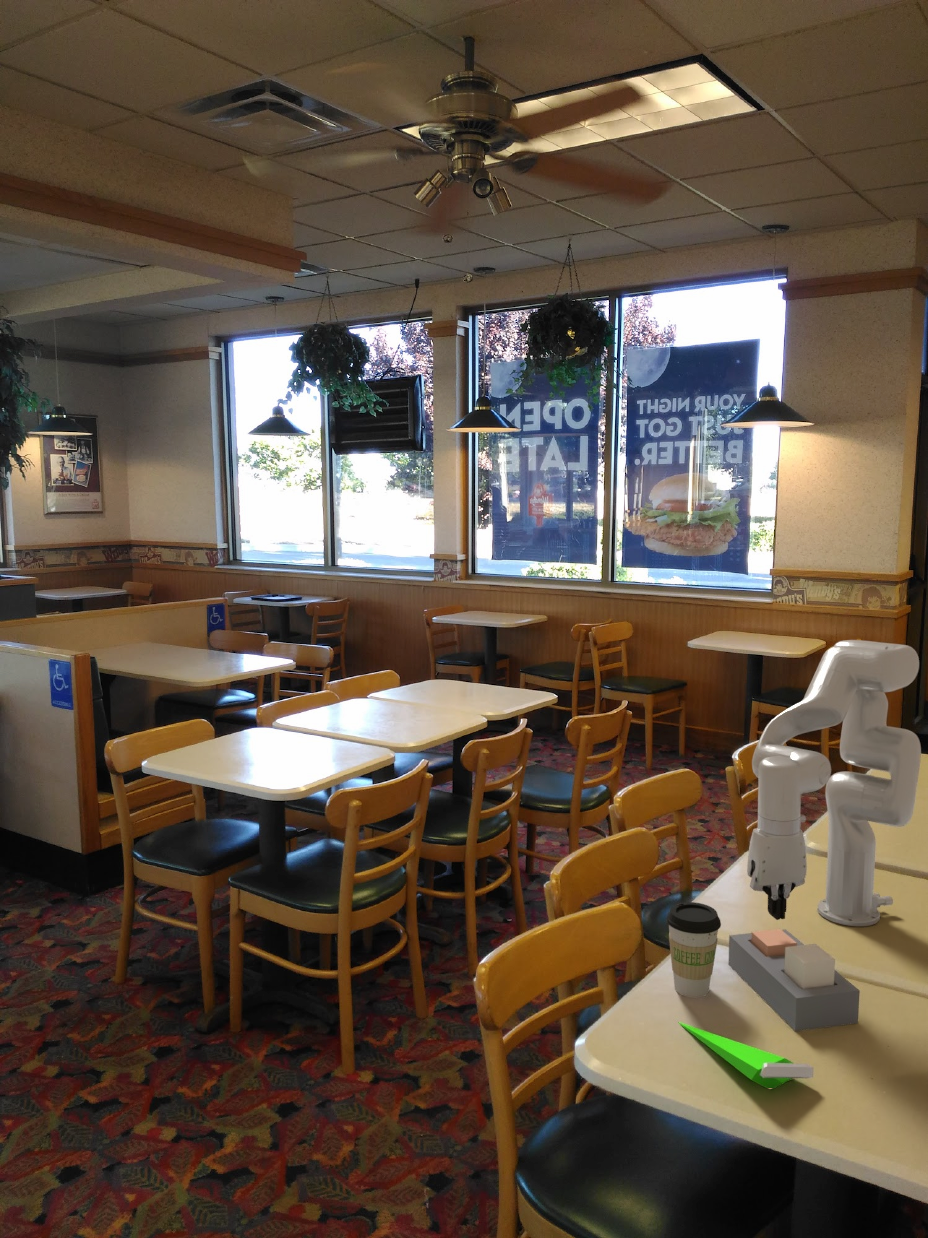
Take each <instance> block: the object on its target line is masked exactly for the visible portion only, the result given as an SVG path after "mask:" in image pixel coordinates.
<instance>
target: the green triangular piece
mask: <svg viewBox="0 0 928 1238" xmlns="http://www.w3.org/2000/svg"><path fill="white" fill-rule="evenodd" d="M678 1024H679V1025H680V1027H681V1026H682V1027H683V1028H684V1029H685V1030H686V1031H688V1032H689V1033H690V1034H692V1035H693V1036H694V1037H696V1038H697V1039H698V1040H699V1041H701V1042H702V1043H703V1044H704V1045H706V1046H707V1047H709V1048H710V1050H712V1051H714V1052H715V1053H716V1054H717V1055H718V1056H720V1058H723V1060H725V1061H726V1062H728V1063H729V1064H730V1065H731V1066H733V1067H734V1068H735V1069H737V1070H738V1071H739V1072H740V1073H742V1074H743V1075H744V1076H745V1077H747V1079H750V1080H751V1081H752V1082H755V1083H756V1084H758V1085H760V1086H762V1087H764V1088H766V1089H767V1088H774V1089H776V1088H777V1086H778V1087H780V1086H782V1085H784V1084H785V1083H786V1081H787V1082H788V1080H789V1081H791V1080H793V1079H811V1078H814V1066H811V1065H810V1064H808V1063H795V1062H793V1061H792V1060H789V1059H787V1058H785V1057H783V1056H781V1055H776V1054H774V1053H771V1052H768V1051H764V1050H762V1049H759V1048H756V1047H753V1046H750V1045H747V1044H744V1043H742V1042H738V1041H736V1040H732V1039H730V1038H727V1037H723V1036H720V1035H718V1034H714V1033H712V1032H710V1031H706V1030H704V1029H700V1028H697V1027H694V1026H691V1025H689V1024H686V1023H683V1022H678ZM779 1085H780V1086H779ZM775 1087H776V1088H775Z"/></svg>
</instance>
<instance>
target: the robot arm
mask: <svg viewBox="0 0 928 1238" xmlns="http://www.w3.org/2000/svg"><path fill="white" fill-rule="evenodd" d="M919 659H920V658H919V656H918V653H917V651H916V650H915V649H914V648H913V647H912V646H910V645H906V644H899V643H892V642H891V643H889V642H888V643H887V642H878V641H872V640H871V641H870V640H860V639H847V640H846V639H845V640H839V641H837V642H836V643H835V644H834V645H833V646H832V647H830V648H828V649H827V650H826V651H825V652H824V653H823V655H822V657H821V658H820V661H819V663H818V666H817V667H816V671H815V672H814V675H813V677H812V679H811V681H810V683H809V685H808V688H807V690H806V692H805V694H804V697H803V699H802V700H801V701H799V702H797V703H795V704H794V705H791V706H789V707H788V708H786V709H785V710H783V711H782V712H780V713H779V714H777V715H776V716H775V717H774V718H772V719H771V720H770V721H769V722H768V723H767V724H766V726H765V728H764V730H763V731H762V733H761V736H760V738H759V740H758V742H757V744H756V747H754V748H755V749H754V752H753V755H752V758H751V768H752V772H753V774H754V775H755V776H756V778H758V779H757V780H758V782H757V784H758V787H757V788H758V789H757V827H756V828H753V830H752V832H751V837H750V842H749V848H748V855H747V865H746V867H747V868H746V869H747V870H746V871H747V873H746V874H747V876H748V877H749V878H751V879H750V884H749V887H750V889H752V890H753V891H756V892H763V893H765V895H767V912H768V914H769V915H770V916H772V917H773V918H774V919H775V920H776V921H778V920H779V921H780V920H785V919H786V913H787V904H788V903H787V899H789V898H790V897H791V893H792V892H793V890H794V889H796V888H797V887H799V886H803V885H804V884H805V883H806V880H805V879H806V876H807V867H808V866H807V864H808V863H807V850H806V841H805V837H804V832H803V830H802V828H801V827H802V825H801V824H802V823H805V822H806V821H807V820H806V819H807V817H806V815H804V814H801V805H802V804H801V803H802V801H801V797H802V794H806V793H812V792H816V791H818V790H820V789H822V788H823V787H825V801H826V808H827V815H828V837H827V839H828V840H827V860H826V880H825V881H826V882H825V884H826V885H825V898H824V899H822V900H820V901H819V902H818V903H817V912H818V913H819V915H820V916H822V917H823V919H826V920H829V921H830V922H833V923H836V924H840V925H843V926H850V927H870V926H872V925H875V924H877V923H878V922H879V921H880V919H881V913H880V911H879V910H878V908H881V906H891V905H893V904H894V899H893V898H892V895H884V896H883V895H882V896H881V895H880V893H878V892H874V888H875V887H874V884H875V863H876V850H877V849H876V848H877V847H876V846H877V845H876V844H877V840H876V836H875V835H876V834H875V831H874V830H873V827H872V826H871V824H870V822H871V823H875V824H881V825H885V826H888V827H895V828H896V827H897V828H903V827H905V826H906V825H908V824H909V823H910V821H911V820H912V817H913V814H914V810H915V804H916V799H917V798H916V797H917V796H916V795H917V788H918V781H919V774H920V769H921V768H920V766H921V758H922V747H921V742H920V738H919V737H918V735H917V734H916V733H915V732H913V731H911V730H909V729H906V728H900V727H894V726H889V725H888V726H887V719H888V718H887V717H888V710H889V701H888V698H887V695H886V693H889V692H890V693H891V692H895V691H897V690H900V689H904V688H906V687H908V686H909V685H910V684H911V683H913V682H914V680H916V677H917V676H918V673H919V670H920V660H919ZM841 723H842V727H841V733H840V740H839V755H840V758H841V759H842V760H843V761H844V762H845V763H846V764H849V765H852V766H856V767H861V768H865V769H871V770H876V771H880V772H886V773H889V775H890V778H885V777H879V776H874V775H871V774H867V773H866V774H865V773H861V772H856V771H855V772H854V771H838V772H836V773H833V774H832V766H831V762H830V760H829V758H828V757H827V756H825V754H823V753H820V752H819V751H813V750H810V749H809V750H808V749H803V748H798V747H794V746H787V745H785V743H787V742H788V741H789V740H791V739H793V738H794V737H796V736H798V735H802V734H805V733H810V732H814V731H818V730H822V729H827V728H830V727H834V726H837V725H839V724H841ZM831 774H832V775H831Z"/></svg>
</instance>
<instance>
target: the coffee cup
mask: <svg viewBox="0 0 928 1238" xmlns="http://www.w3.org/2000/svg"><path fill="white" fill-rule="evenodd" d="M665 921H666V923H667V924H668V931H669V933H668V941H669V949H670V950H669V951H670V962H671V969H672V973H673V985H674V990H675V991H676V993H678V994H680V995H682V996H685V997H687V998H702V997H705V996H706V995H708V994H709V991H710V985H711V979H712V978H711V977H712V975H713V972H714V971H713V970H714V965H715V958H716V951H717V945H718V933H719V929H721V926H722V923H721V918H720V917H719V915H718V911H717V910H716V909H715V908H713V907H712V906H710V905H709V904H704V903H700V902H695V901H693V902H692V901H685V902H684V901H682V902H678V903H675V904H673V905H672V906H671V907H670V908H669V911H668V913H667V914H666V918H665Z"/></svg>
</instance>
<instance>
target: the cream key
mask: <svg viewBox="0 0 928 1238" xmlns="http://www.w3.org/2000/svg"><path fill="white" fill-rule="evenodd" d="M835 965H836V959H835V958H834V957H833V956H832V955H830V953H828V952H827V951H825V950H824V949H823V948H821V947H820V946H819V945H818V944H816V943H811V944H810V943H809V944H804V945H800V946H791V947H785V969H784V974H786V975H787V976H788V977H789V978H790V979H791V980H792V981H793V982H794V983H795V984H796V985H798V986H799V987H800V988H801V989H808V988H816V987H825V986H833V985H834V971H836V968H835V967H836V966H835Z"/></svg>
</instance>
